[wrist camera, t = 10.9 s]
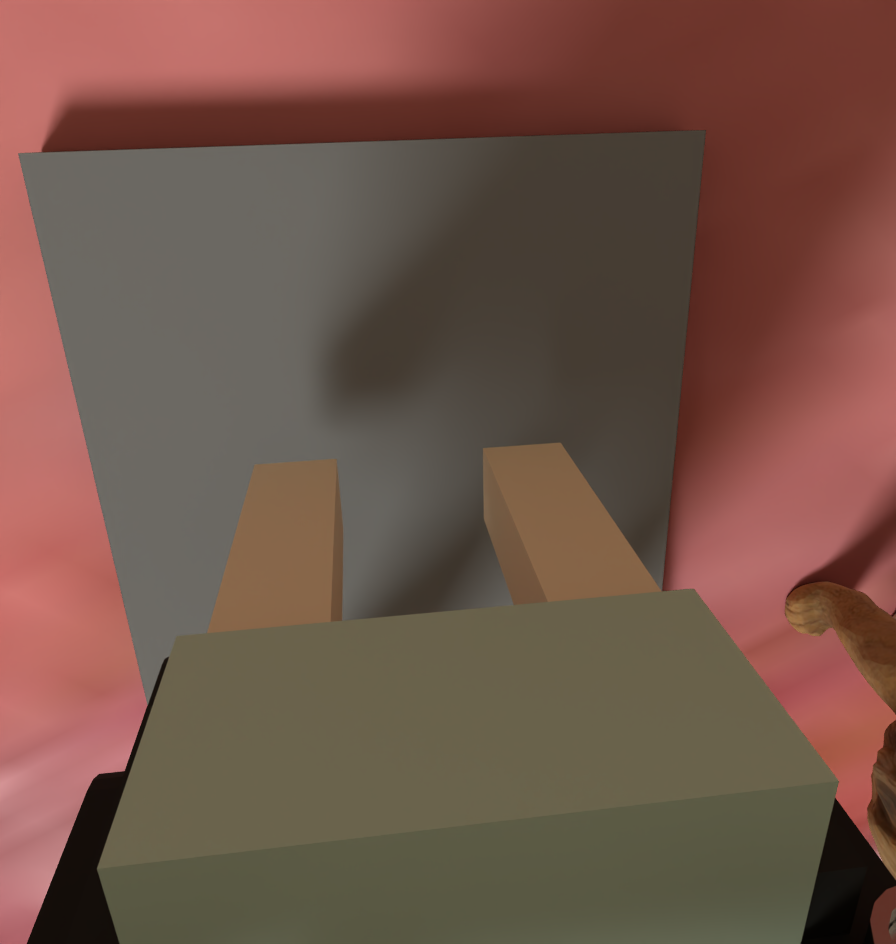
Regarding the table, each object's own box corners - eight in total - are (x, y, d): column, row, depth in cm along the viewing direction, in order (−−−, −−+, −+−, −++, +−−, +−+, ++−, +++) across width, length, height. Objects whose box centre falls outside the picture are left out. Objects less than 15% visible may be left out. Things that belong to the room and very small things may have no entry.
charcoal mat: (192, 836, 17) (185, 866, 16) (38, 152, 12) (18, 154, 11) (629, 782, 18) (641, 809, 17) (684, 130, 13) (706, 130, 12)
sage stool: (239, 452, 11) (96, 869, 5) (573, 429, 12) (839, 781, 5) (292, 806, 14) (245, 1360, 8) (560, 776, 15) (722, 1273, 8)
